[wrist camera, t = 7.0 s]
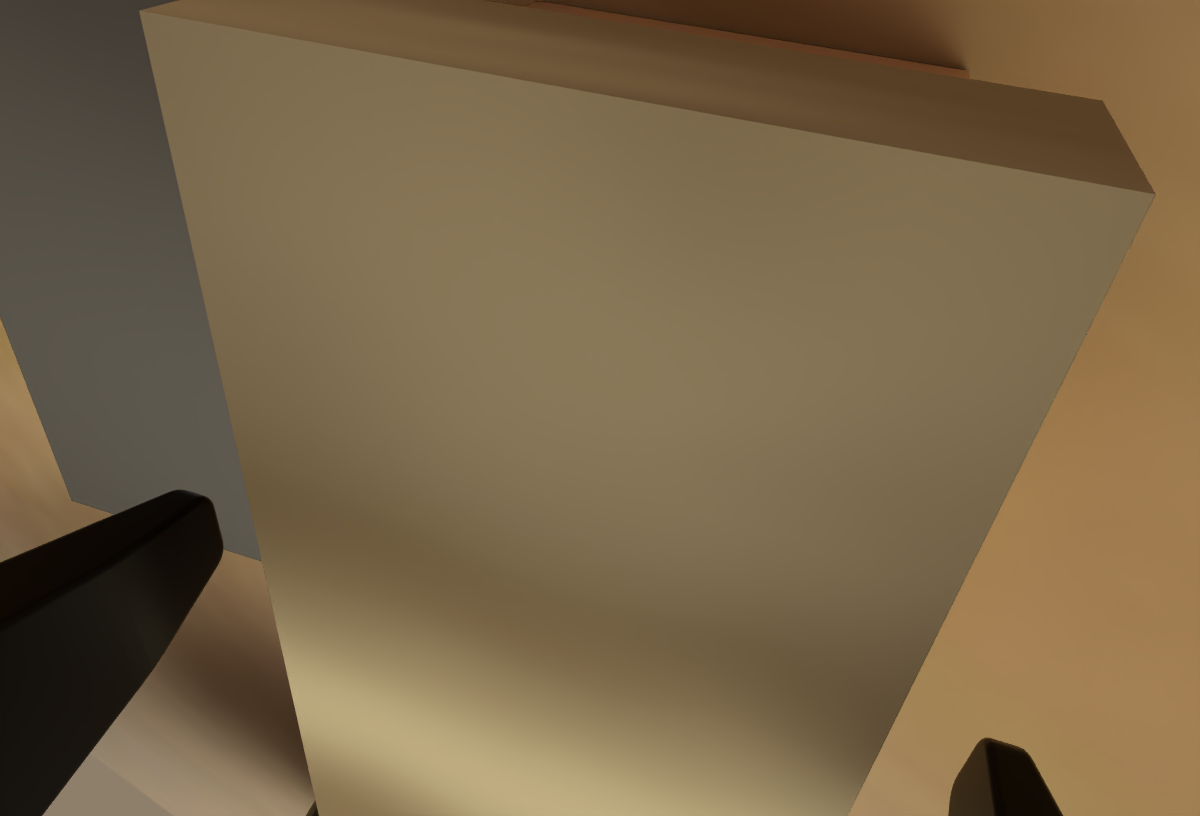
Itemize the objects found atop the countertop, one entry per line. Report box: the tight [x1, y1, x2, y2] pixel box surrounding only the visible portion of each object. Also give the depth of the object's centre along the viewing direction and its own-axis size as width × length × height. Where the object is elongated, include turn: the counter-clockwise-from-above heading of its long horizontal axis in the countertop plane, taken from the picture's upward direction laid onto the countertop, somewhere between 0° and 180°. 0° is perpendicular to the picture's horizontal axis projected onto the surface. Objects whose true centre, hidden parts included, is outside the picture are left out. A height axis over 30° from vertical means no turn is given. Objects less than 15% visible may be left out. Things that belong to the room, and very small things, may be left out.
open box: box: [526, 1, 970, 79], centre depth 13 cm, size 10×6×5 cm, turn 176°
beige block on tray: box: [139, 0, 1156, 816], centre depth 10 cm, size 12×7×2 cm, turn 176°
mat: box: [0, 0, 262, 561], centre depth 18 cm, size 14×9×1 cm, turn 176°
